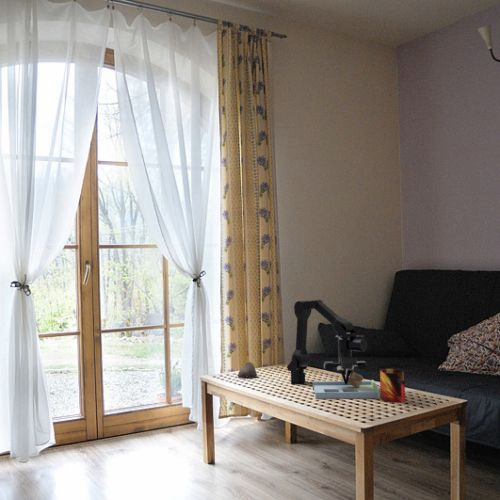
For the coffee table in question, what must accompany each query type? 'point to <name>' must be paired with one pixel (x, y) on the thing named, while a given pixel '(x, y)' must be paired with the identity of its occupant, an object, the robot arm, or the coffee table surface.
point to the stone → (247, 371)
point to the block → (355, 379)
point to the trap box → (345, 390)
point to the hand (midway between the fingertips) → (345, 384)
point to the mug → (392, 385)
